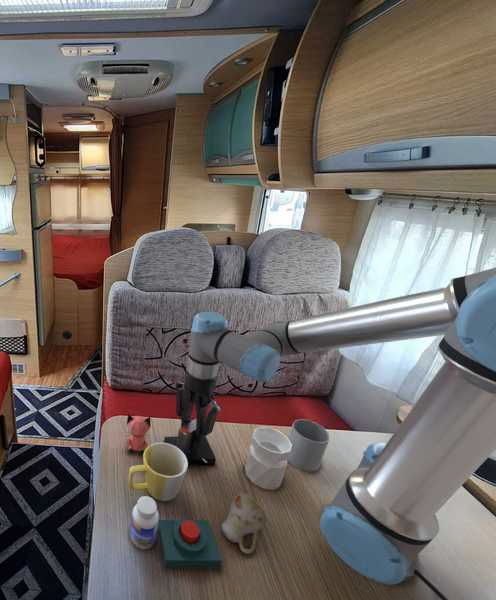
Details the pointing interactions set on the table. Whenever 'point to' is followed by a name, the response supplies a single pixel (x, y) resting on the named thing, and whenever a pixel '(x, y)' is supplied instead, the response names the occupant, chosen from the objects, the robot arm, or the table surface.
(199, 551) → the switch
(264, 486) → the vase
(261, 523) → the mug
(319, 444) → the cup
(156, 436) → the table surface
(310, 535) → the table surface
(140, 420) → the pink cat figurine
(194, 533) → the button
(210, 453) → the plate
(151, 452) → the mug
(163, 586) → the table surface
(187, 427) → the spout
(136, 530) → the pill bottle
